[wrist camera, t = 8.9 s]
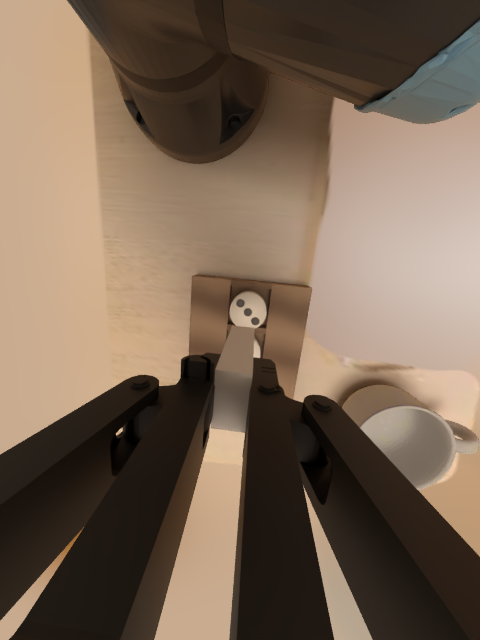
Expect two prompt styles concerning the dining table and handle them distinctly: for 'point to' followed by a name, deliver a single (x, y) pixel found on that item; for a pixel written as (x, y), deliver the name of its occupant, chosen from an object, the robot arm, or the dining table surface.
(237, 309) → the button three
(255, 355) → the button one
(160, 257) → the dining table surface
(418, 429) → the teacup
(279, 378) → the panel
